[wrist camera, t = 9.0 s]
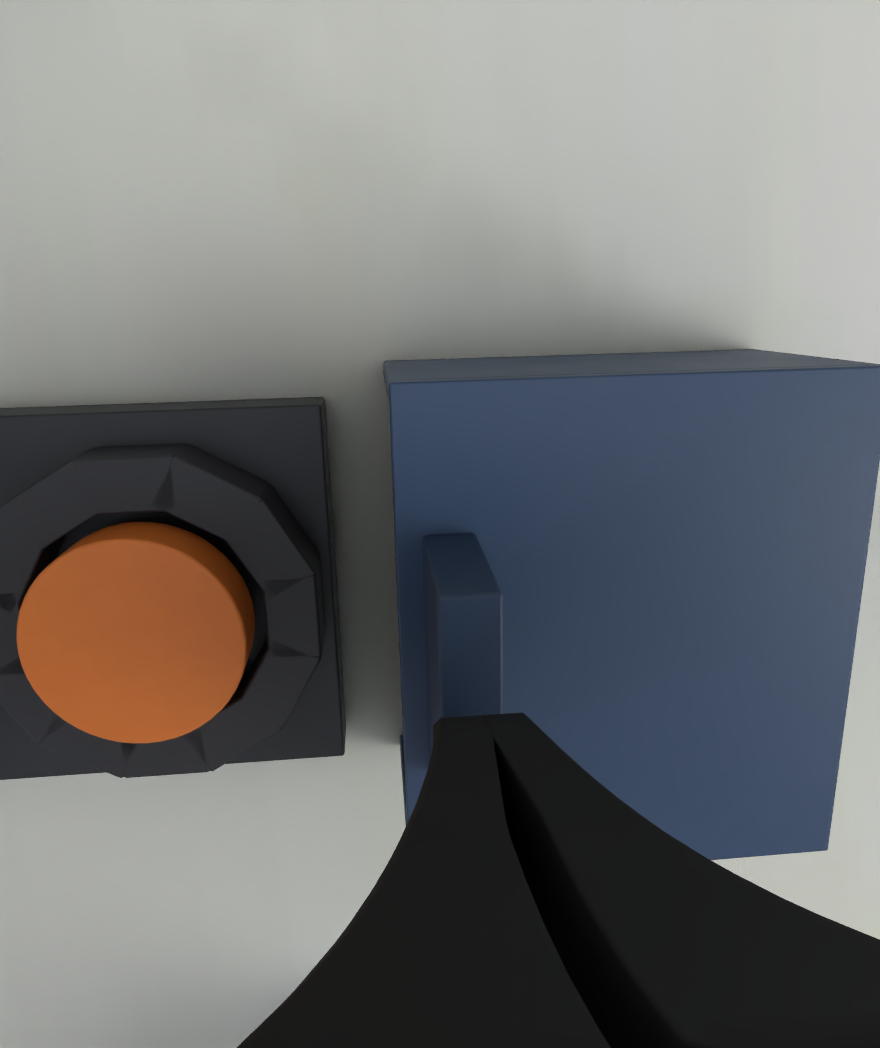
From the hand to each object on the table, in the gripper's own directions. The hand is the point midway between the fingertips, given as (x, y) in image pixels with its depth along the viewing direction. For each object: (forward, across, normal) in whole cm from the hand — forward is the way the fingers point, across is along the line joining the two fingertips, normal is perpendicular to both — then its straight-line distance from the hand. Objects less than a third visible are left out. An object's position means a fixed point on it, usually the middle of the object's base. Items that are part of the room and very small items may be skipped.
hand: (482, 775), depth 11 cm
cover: (+9, -4, 0) cm, 10 cm away
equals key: (+7, +7, 0) cm, 9 cm away
